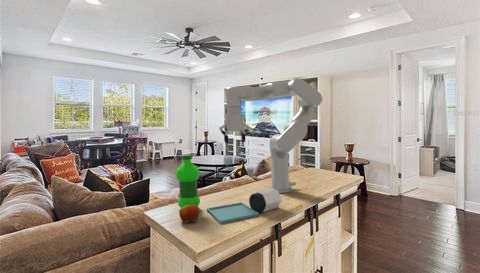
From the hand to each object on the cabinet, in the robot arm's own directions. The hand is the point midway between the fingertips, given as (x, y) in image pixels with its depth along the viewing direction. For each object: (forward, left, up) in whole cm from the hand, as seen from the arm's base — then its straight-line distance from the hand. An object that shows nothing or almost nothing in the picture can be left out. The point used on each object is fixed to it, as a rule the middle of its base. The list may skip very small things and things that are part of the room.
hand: (235, 142), depth 139 cm
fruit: (+32, +26, -29) cm, 50 cm away
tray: (+14, +27, -28) cm, 41 cm away
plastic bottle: (+29, +12, -28) cm, 42 cm away
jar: (-7, +28, -24) cm, 38 cm away
